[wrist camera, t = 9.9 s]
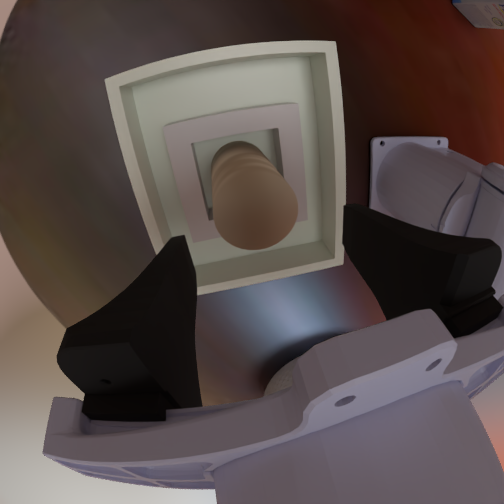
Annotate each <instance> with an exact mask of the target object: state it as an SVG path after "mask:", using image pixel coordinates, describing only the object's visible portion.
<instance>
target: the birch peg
mask: <svg viewBox="0 0 504 504" xmlns="http://www.w3.org/2000/svg"><path fill="white" fill-rule="evenodd" d="M211 179H212V201H213V218H214V223H215V227H216V229H217V231H218V232H219V234H220V235H221V237H222V238H223V239H224V240H225V241H227V242H228V243H229V244H231V245H233V246H235V247H237V248H240V249H245V250H261V249H265V248H268V247H271V246H273V245H275V244H277V243H279V242H280V241H281V240H283V239H284V238H285V237H286V236H287V235H288V234H289V233H290V231H291V230H292V228H293V227H294V225H295V222H296V220H297V216H298V201H297V198H296V195H295V193H294V191H293V189H292V188H291V187H290V185H289V184H288V183H287V182H286V180H285V179H284V178H283V177H282V175H281V174H280V173H279V172H278V171H277V169H276V168H275V167H274V166H273V165H272V163H271V162H270V161H269V160H268V159H267V157H266V156H265V155H264V154H263V153H262V151H261V150H260V149H259V148H258V147H257V146H255V145H254V144H252V143H249V142H246V141H233V142H230V143H227V144H225V145H223V146H222V147H221V148H220V149H219V150H218V151H217V152H216V153H215V155H214V157H213V159H212V163H211Z"/></svg>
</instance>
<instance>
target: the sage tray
mask: <svg viewBox="0 0 504 504" xmlns="http://www.w3.org/2000/svg"><path fill="white" fill-rule="evenodd" d="M105 84H106V89H107V93H108V98H109V103H110V107H111V111H112V116H113V120H114V124H115V128H116V132H117V136H118V139H119V143H120V147H121V150H122V154H123V158H124V161H125V164H126V168H127V171H128V174H129V178H130V181H131V184H132V187H133V190H134V194H135V197H136V200H137V203H138V206H139V209H140V212H141V214H142V217H143V220H144V223H145V226H146V229H147V231H148V234H149V237H150V240H151V242H152V245H153V247H154V250H155V253H156V255H157V254H158V253H159V252H160V250H161V249H162V248H163V247H164V245H165V244H166V243H167V242H168V240H169V239H170V238H171V237H175V236H180V235H185V238H186V241H187V244H188V248H189V251H190V254H191V257H192V261H193V264H194V267H195V270H196V278H197V295H201V294H206V293H212V292H217V291H222V290H227V289H232V288H237V287H242V286H247V285H252V284H257V283H261V282H266V281H271V280H276V279H280V278H285V277H290V276H294V275H299V274H303V273H308V272H312V271H317V270H321V269H325V268H330V267H334V266H338V265H343V261H344V246H343V244H342V234H343V205H346V159H345V133H344V116H343V103H342V91H341V81H340V72H339V64H338V56H337V49H336V42H335V41H278V42H263V43H252V44H243V45H235V46H228V47H221V48H215V49H209V50H204V51H199V52H194V53H189V54H185V55H181V56H176V57H172V58H168V59H165V60H161V61H157V62H154V63H151V64H147V65H144V66H141V67H138V68H135V69H132V70H129V71H126V72H123V73H120V74H117V75H115V76H112V77H110V78H107V79H105ZM233 141H246V142H249V143H252V144H254V145H255V146H257V147H258V148H259V149H260V150H261V151H262V153H263V154H264V155H265V156H266V157H267V159H268V160H269V161H270V162H271V163H272V165H273V166H274V167H275V168H276V169H277V171H278V172H279V173H280V174H281V175H282V177H283V178H284V179H285V180H286V182H287V183H288V184H289V185H290V187H291V188H292V189H293V191H294V193H295V195H296V198H297V201H298V216H297V220H296V222H295V225H294V227H293V228H292V230H291V231H290V233H289V234H288V235H287V236H286V237H285V238H284V239H283V240H281V241H280V242H279V243H277V244H275V245H273V246H271V247H268V248H265V249H261V250H245V249H240V248H237V247H235V246H233V245H231V244H229V243H228V242H227V241H225V240H224V239H223V238H222V237H221V235H220V234H219V232H218V231H217V229H216V227H215V223H214V218H213V201H212V179H211V163H212V159H213V157H214V155H215V153H216V152H217V151H218V150H219V149H220V148H221V147H222V146H223V145H225V144H227V143H230V142H233Z"/></svg>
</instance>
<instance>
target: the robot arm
mask: <svg viewBox="0 0 504 504" xmlns="http://www.w3.org/2000/svg"><path fill="white" fill-rule="evenodd" d="M381 141H382V142H383V143H382V145H380V142H381ZM437 141H438V143H437ZM396 218H397V219H396ZM342 244H343V246H344V248H345V250H346V252H347V254H348V256H349V258H350V260H351V261H352V263H353V264H354V266H355V267H356V269H357V270H358V272H359V273H360V274H361V276H362V277H363V279H364V280H365V282H366V283H367V285H368V286H369V288H370V289H371V290H372V292H373V294H374V295H375V297H376V299H377V301H378V303H379V305H380V307H381V309H382V311H383V313H384V315H385V317H386V320H387V321H384V322H381V323H378V324H375V325H372V326H369V327H366V328H363V329H359V330H356V331H353V332H349V333H346V334H342V335H339V336H335V337H333V338H330V339H328V340H326V341H323V342H321V343H319V344H316V345H314V346H313V347H312V348H311V349H309V350H308V351H307V352H306V353H304V354H303V355H302V356H301V357H300V358H299V359H298V360H297V362H296V365H295V367H294V369H293V372H292V382H293V384H292V386H290V387H288V388H285V389H283V390H280V391H277V392H275V393H272V394H269V395H266V396H264V397H261V398H258V399H253V400H248V401H241V402H235V403H228V404H221V405H213V406H205V407H203V406H202V401H201V394H200V387H199V380H198V371H197V361H196V350H195V319H196V303H197V278H196V270H195V267H194V264H193V261H192V257H191V254H190V251H189V248H188V244H187V241H186V238H185V235H180V236H175V237H171V238H170V239H169V240H168V242H167V243H166V244H165V245H164V247H163V248H162V249H161V250H160V252H159V253H158V254H157V255H156V257H155V258H154V259H153V260H152V262H151V263H150V264H149V265H148V266H147V267H146V268H145V270H144V271H143V272H142V273H141V274H140V275H139V276H138V277H137V278H136V279H135V280H134V281H133V282H132V283H131V284H130V285H129V286H128V287H127V288H126V289H125V290H124V291H123V292H121V293H120V294H119V295H118V296H116V297H115V298H114V299H113V300H112V301H110V302H109V303H108V304H106V305H105V306H104V307H102V308H101V309H99V310H98V311H96V312H95V313H93V314H92V315H90V316H88V317H87V318H85V319H83V320H82V321H80V322H78V323H76V324H74V325H73V326H71V327H69V328H67V329H66V332H65V334H64V337H63V340H62V343H61V346H60V348H59V351H58V354H57V363H58V365H59V367H60V369H61V370H62V371H63V373H64V374H65V375H66V376H67V377H68V378H69V379H70V380H71V381H72V382H73V383H74V384H75V385H76V386H77V387H78V388H79V389H80V390H81V391H82V392H84V393H85V396H84V401H81V400H79V399H75V398H65V397H54V398H53V402H52V406H51V411H50V415H49V420H48V425H47V430H46V435H45V441H44V448H43V454H44V456H46V457H48V458H50V459H52V460H54V461H56V462H58V463H60V464H62V465H64V466H66V467H68V468H70V469H72V470H74V471H77V472H79V473H81V474H83V475H86V476H90V477H95V478H101V479H106V480H112V481H117V482H123V483H129V484H136V485H144V486H153V487H163V488H178V489H215V491H216V499H217V504H504V472H503V469H502V467H501V464H500V461H499V459H498V457H497V454H496V452H495V450H494V447H493V445H492V443H491V441H490V438H489V436H488V434H487V432H486V430H485V428H484V426H483V424H482V422H481V420H480V418H479V416H478V414H477V412H476V410H475V408H474V406H473V405H472V403H471V401H470V400H471V399H472V398H474V397H475V396H476V395H478V394H479V393H480V392H482V391H483V390H484V389H485V388H486V387H488V386H489V385H490V384H491V383H493V382H494V381H495V380H496V379H497V378H498V377H499V376H501V375H502V374H503V373H504V166H503V165H500V164H497V163H494V162H492V163H490V164H488V165H487V166H484V165H482V164H480V163H478V162H476V161H474V160H472V159H470V158H468V157H466V156H464V155H462V154H459V153H457V152H455V151H453V150H451V149H448V139H447V138H445V137H428V136H399V137H374V138H373V139H372V140H371V168H370V198H369V208H368V207H365V206H363V205H359V204H349V205H343V234H342Z"/></svg>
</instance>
